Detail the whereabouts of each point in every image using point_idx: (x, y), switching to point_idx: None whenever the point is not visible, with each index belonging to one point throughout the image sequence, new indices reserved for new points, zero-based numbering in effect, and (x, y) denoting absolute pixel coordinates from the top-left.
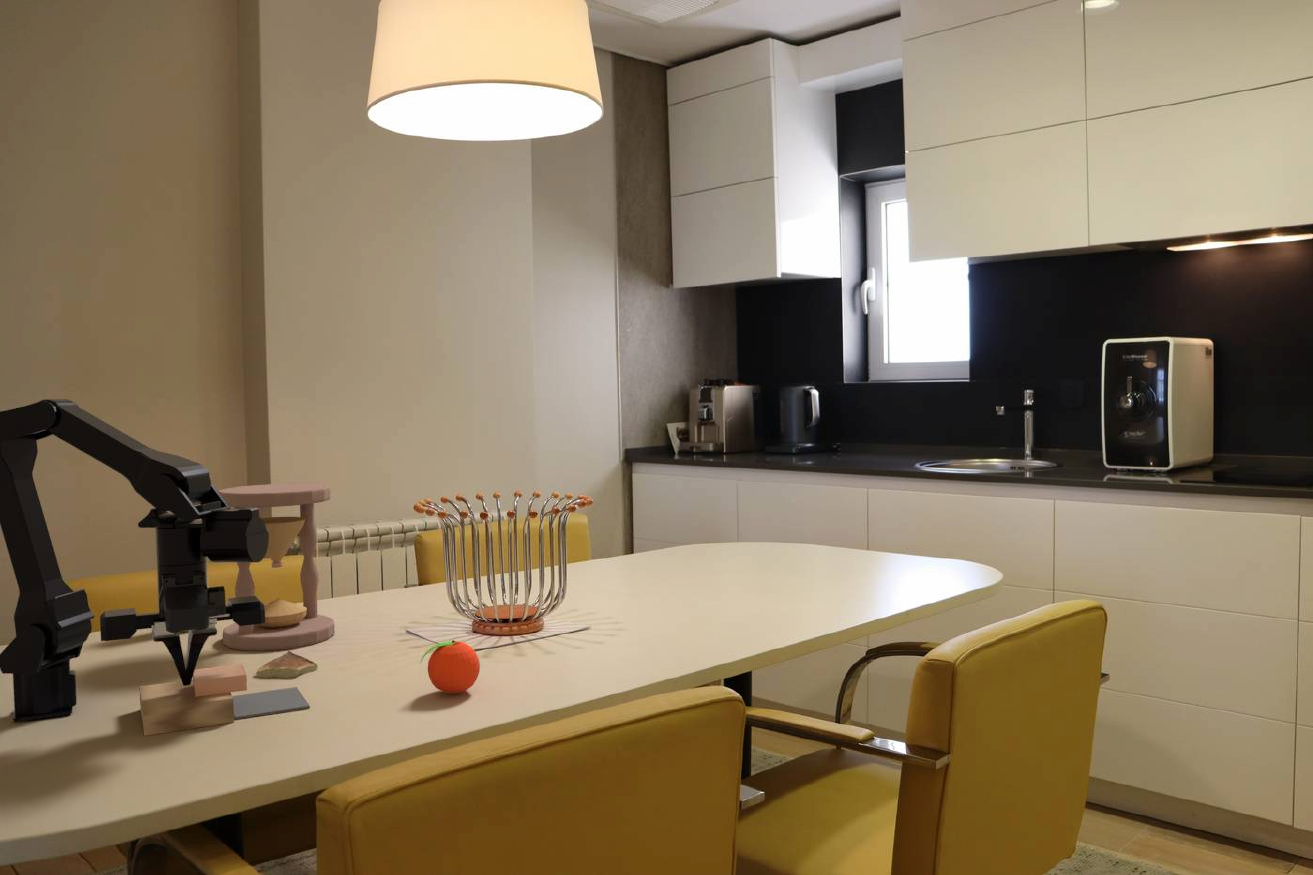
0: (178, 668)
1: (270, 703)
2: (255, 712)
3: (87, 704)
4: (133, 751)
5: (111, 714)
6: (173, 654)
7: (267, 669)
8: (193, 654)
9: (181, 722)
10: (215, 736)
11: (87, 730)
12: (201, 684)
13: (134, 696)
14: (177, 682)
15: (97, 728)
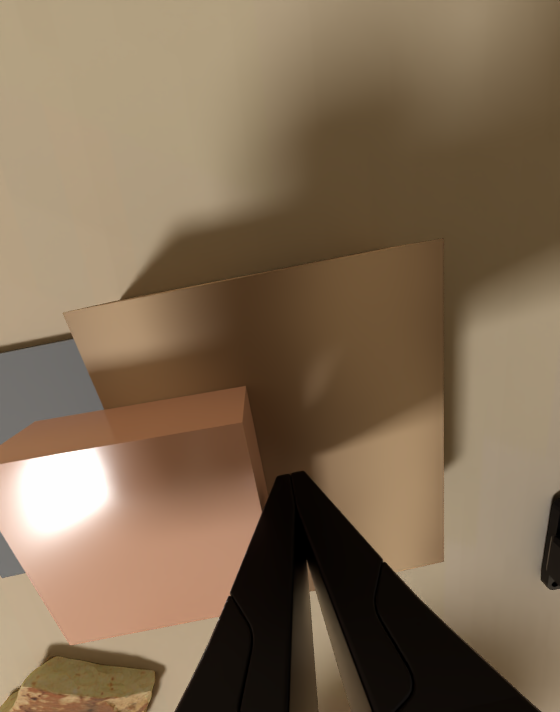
0: (345, 528)
1: None
2: (56, 362)
3: (510, 563)
4: (421, 55)
5: (468, 481)
6: (430, 632)
7: (117, 695)
8: (255, 644)
9: (283, 268)
10: (148, 136)
11: (531, 366)
12: (212, 414)
13: (417, 593)
14: None
15: (507, 375)
